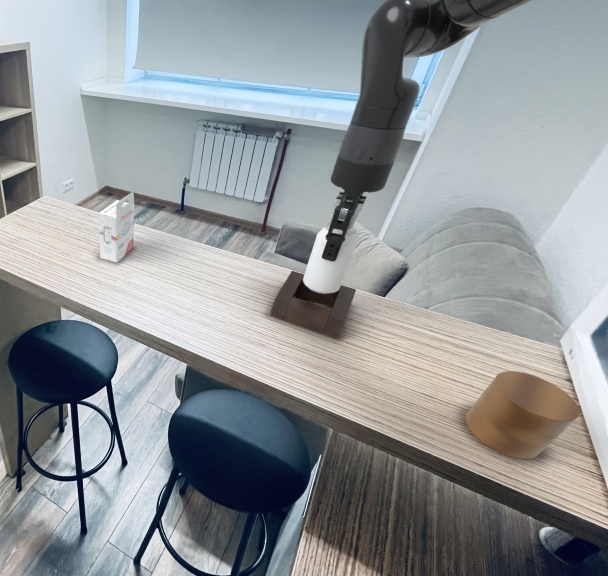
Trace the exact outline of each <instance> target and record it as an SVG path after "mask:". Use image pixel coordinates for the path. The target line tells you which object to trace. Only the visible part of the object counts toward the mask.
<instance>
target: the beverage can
mask: <svg viewBox="0 0 608 576" xmlns="http://www.w3.org/2000/svg"><path fill="white" fill-rule="evenodd" d="M329 227H330V223H329V222H327V223H325V224H324V226H323V228H322V229H321V230H319V232H317V234H316V237H315V240H314V243H313V246H312V250H311V252H310V256H309V258H308V261H307V265H306V268H305V271H304V273H303V274H304V278H303V282H304V284H305V285H306V286H307V287H308V288H309V289H311V290H312V291H314V292H317V293H321V294H328V293H334V292H336V291H338V290H339V288H340V286H341V285H342V284H343V281H344V279H345V276H346V273H347V271H348V268H349V266H350V263H351V261H352V257H353V255H354V253H355V250H356V248H357V245H358V242H359V241H358V237H357V234H358V233H357V232H358V231H357V229H356V228H355V227H353V228H351V229H349V230H348V231H347V234H346V236H345V238H346V239H345V241H344V242H343V243H342V245H341V248H340V251H339V253H338V256H337V259H336V260H335V261H329V260H325V259H323V258H322V254H323V251H324V248H325V245H326V242H327V240H326V234H327V233H328V230H329ZM333 233H337V234H341V235H342V233H343V231H342V230H338V229H334V230H333Z"/></svg>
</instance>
